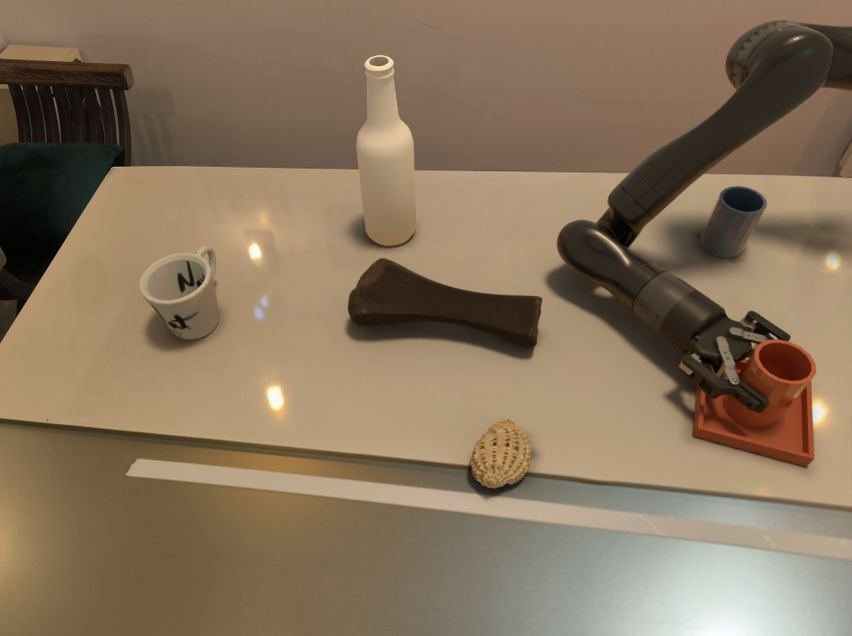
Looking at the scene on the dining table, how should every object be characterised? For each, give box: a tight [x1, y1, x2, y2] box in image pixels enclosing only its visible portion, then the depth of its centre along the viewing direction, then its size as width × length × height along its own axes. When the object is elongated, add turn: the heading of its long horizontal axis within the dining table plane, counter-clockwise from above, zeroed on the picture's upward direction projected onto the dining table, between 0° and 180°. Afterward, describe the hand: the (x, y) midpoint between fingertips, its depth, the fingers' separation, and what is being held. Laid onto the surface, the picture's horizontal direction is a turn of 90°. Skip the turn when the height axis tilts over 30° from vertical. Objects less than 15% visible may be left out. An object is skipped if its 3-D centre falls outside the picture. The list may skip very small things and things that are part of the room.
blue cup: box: [699, 185, 768, 259], centre depth 96 cm, size 7×7×9 cm
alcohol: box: [355, 54, 417, 247], centre depth 94 cm, size 9×9×30 cm
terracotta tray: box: [692, 359, 815, 467], centre depth 79 cm, size 13×13×2 cm
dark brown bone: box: [347, 257, 543, 349], centre depth 90 cm, size 11×10×28 cm
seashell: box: [470, 417, 532, 489], centre depth 76 cm, size 8×6×10 cm
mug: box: [138, 245, 220, 341], centre depth 93 cm, size 10×15×10 cm
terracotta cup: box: [723, 339, 817, 428], centre depth 76 cm, size 7×7×10 cm
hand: (786, 391), depth 74 cm, fingers open, 7 cm apart
